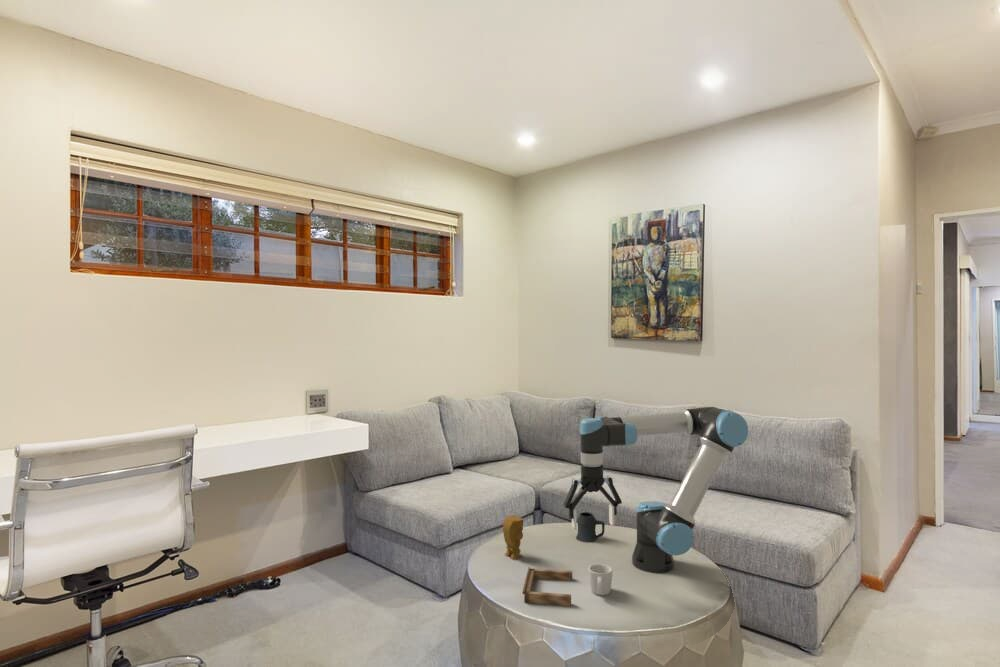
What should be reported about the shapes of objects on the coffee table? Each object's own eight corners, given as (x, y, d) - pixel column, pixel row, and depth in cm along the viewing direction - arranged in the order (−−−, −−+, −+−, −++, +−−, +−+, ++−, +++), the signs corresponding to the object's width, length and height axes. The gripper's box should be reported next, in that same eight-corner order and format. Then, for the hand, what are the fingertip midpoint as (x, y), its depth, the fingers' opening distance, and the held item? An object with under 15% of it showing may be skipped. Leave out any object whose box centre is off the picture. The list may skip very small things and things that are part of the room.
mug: (574, 543, 226) (574, 516, 226) (576, 536, 235) (576, 510, 235) (603, 546, 223) (603, 519, 223) (605, 538, 232) (605, 512, 232)
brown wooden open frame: (572, 579, 193) (572, 569, 193) (571, 606, 174) (571, 595, 174) (528, 576, 196) (528, 566, 196) (522, 602, 177) (522, 591, 177)
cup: (612, 603, 176) (612, 578, 176) (587, 600, 178) (587, 576, 178) (612, 588, 187) (612, 564, 187) (588, 585, 188) (588, 562, 188)
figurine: (524, 557, 212) (524, 519, 212) (511, 561, 208) (511, 522, 208) (514, 552, 218) (514, 514, 218) (500, 555, 214) (500, 517, 214)
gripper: (621, 459, 193) (622, 519, 193) (553, 463, 188) (554, 525, 188) (630, 464, 185) (631, 526, 185) (560, 469, 181) (561, 533, 181)
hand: (593, 526), depth 187 cm, fingers open, 13 cm apart
